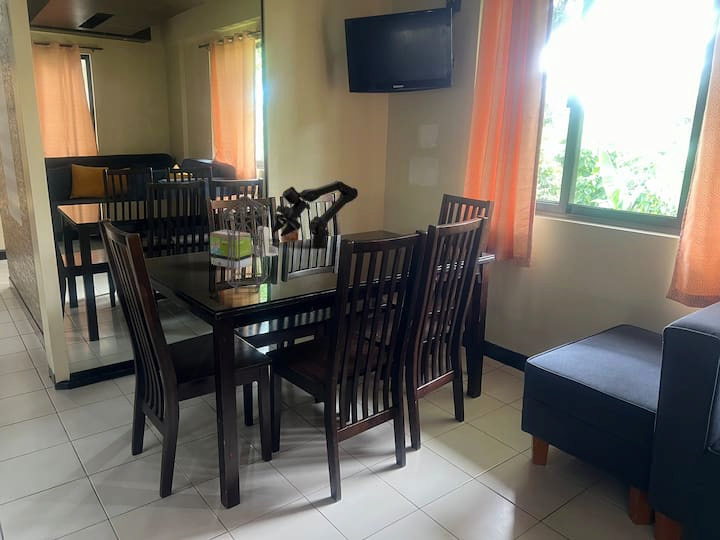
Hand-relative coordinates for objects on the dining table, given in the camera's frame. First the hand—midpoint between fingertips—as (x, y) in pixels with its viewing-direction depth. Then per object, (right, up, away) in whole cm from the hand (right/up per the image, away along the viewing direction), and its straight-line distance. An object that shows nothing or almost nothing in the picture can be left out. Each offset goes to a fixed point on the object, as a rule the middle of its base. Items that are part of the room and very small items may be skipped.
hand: (276, 234), depth 257 cm
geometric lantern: (-1, -25, -62) cm, 67 cm away
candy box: (+2, -2, +30) cm, 30 cm away
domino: (-6, -9, -2) cm, 11 cm away
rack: (-6, -9, -2) cm, 11 cm away
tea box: (-16, -16, -25) cm, 34 cm away
